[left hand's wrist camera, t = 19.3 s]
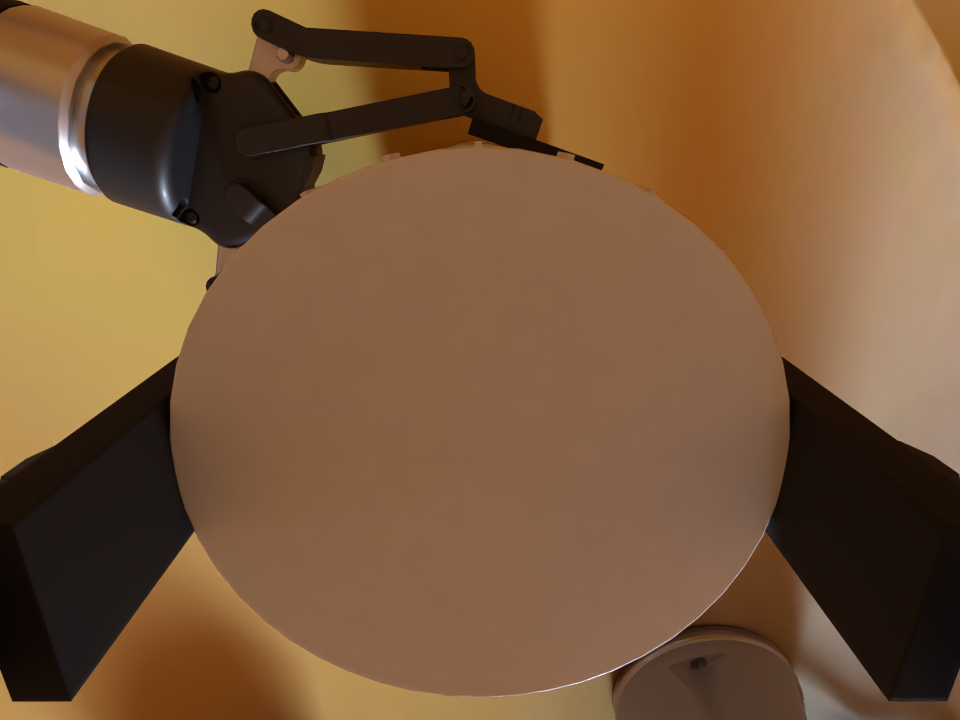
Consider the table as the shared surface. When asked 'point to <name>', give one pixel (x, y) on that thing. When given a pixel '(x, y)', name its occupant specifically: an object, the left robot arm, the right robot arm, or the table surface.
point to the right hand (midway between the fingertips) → (557, 268)
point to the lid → (479, 422)
